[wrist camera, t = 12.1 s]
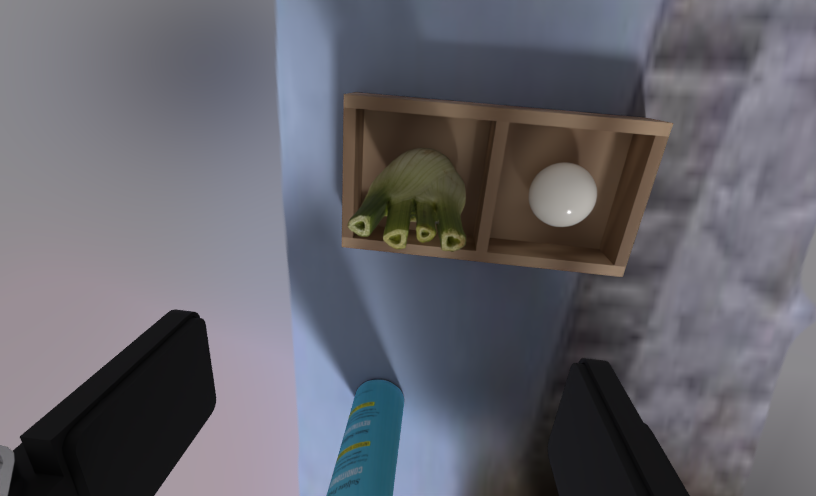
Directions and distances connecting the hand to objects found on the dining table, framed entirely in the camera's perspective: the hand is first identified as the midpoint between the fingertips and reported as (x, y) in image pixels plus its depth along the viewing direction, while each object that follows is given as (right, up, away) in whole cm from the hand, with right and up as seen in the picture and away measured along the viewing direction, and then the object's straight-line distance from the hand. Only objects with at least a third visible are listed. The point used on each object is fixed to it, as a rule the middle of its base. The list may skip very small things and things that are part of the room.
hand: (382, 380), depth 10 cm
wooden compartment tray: (+7, +9, +20) cm, 23 cm away
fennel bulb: (+2, +9, +20) cm, 22 cm away
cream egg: (+11, +8, +19) cm, 24 cm away
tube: (-2, -11, +30) cm, 32 cm away
